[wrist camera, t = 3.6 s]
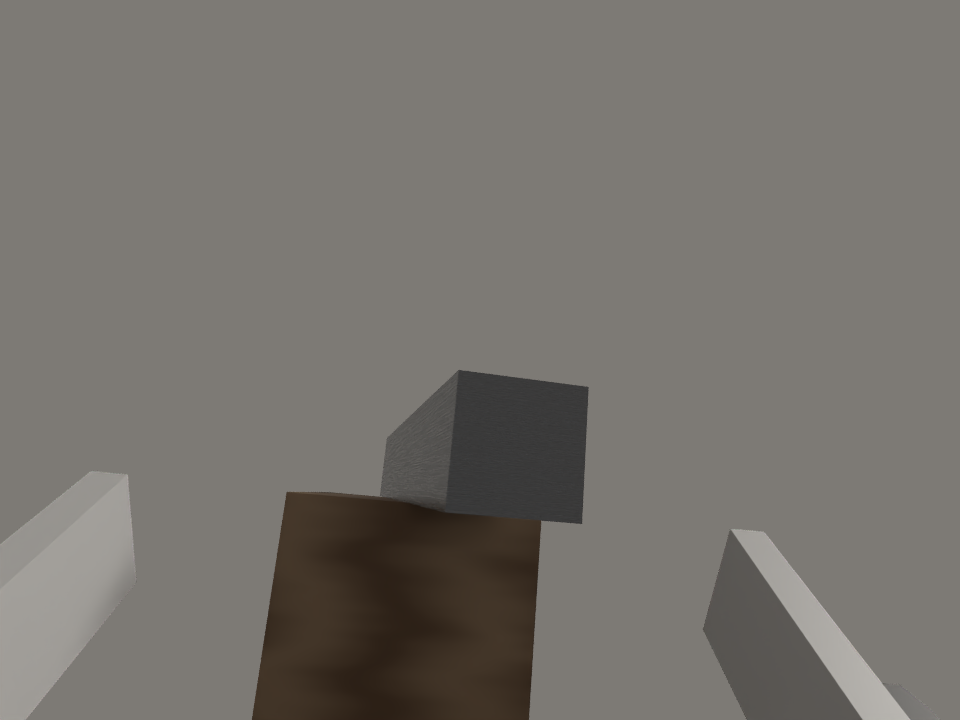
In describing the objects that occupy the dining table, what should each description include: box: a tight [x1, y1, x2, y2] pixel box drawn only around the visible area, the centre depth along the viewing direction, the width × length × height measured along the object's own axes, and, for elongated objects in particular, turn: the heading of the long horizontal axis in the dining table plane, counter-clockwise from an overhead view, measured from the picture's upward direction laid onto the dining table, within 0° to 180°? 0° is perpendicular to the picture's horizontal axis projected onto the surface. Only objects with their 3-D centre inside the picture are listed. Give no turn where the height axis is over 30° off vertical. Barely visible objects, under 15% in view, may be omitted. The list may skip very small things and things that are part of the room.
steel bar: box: [380, 370, 588, 524], centre depth 27 cm, size 4×24×4 cm, turn 13°
